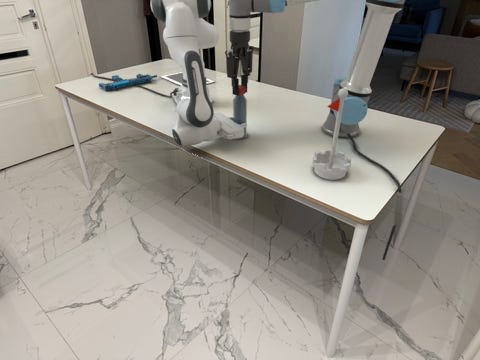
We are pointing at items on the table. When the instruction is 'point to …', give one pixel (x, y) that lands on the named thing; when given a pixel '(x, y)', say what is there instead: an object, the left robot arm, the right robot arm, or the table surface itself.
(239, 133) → the left robot arm
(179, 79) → the tablet
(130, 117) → the table surface
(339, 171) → the flag stand
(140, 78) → the submachine gun
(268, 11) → the right robot arm
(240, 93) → the cap
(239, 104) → the bottle
